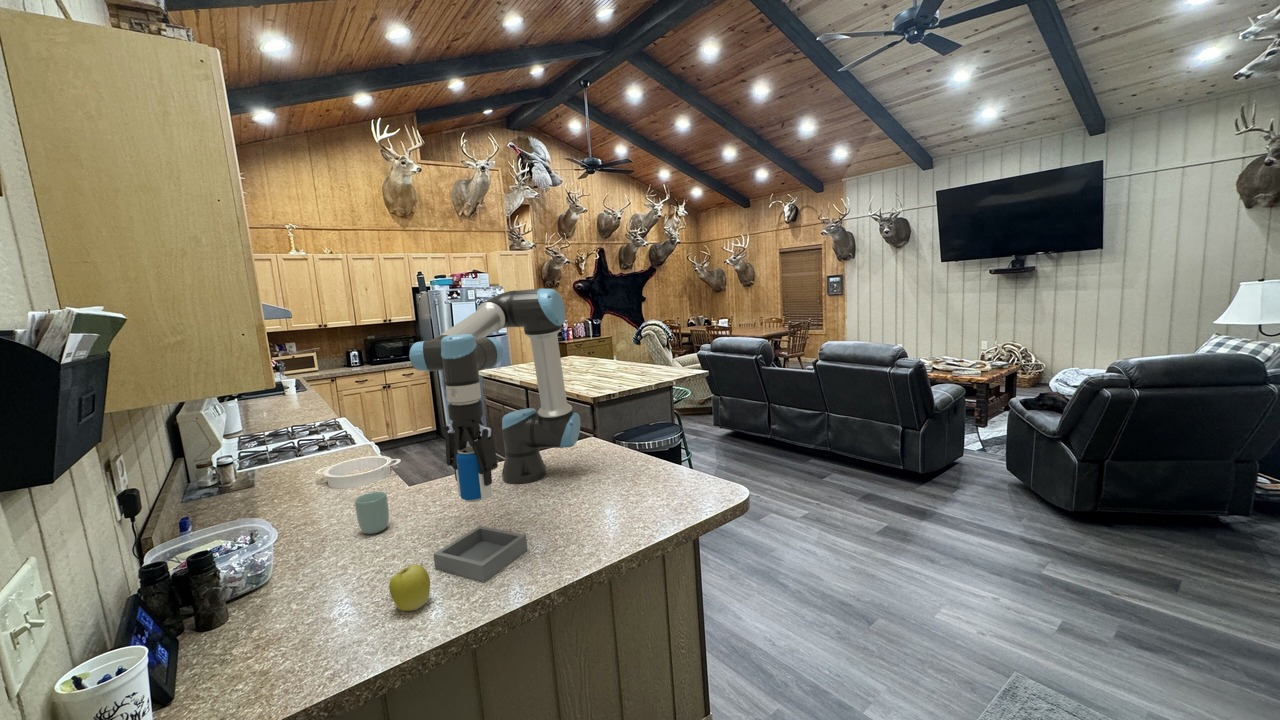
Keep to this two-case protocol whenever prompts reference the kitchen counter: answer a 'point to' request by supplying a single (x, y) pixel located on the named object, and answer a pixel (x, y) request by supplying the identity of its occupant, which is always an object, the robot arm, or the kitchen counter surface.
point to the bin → (480, 553)
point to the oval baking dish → (357, 464)
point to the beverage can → (468, 475)
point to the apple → (410, 588)
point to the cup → (372, 512)
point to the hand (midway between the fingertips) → (475, 495)
